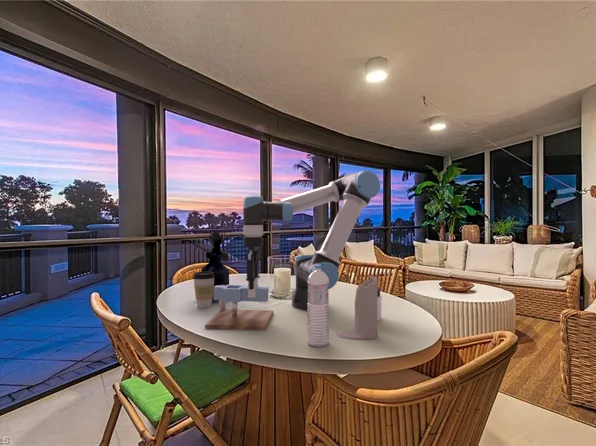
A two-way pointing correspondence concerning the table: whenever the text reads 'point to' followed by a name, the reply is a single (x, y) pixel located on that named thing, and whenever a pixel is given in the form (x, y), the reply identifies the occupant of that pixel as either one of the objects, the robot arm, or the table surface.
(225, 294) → the link
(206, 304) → the coffee cup
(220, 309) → the bracket
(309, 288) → the water bottle
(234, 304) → the pintle
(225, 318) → the board
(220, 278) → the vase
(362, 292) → the metal bookend
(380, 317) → the jar
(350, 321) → the table surface
